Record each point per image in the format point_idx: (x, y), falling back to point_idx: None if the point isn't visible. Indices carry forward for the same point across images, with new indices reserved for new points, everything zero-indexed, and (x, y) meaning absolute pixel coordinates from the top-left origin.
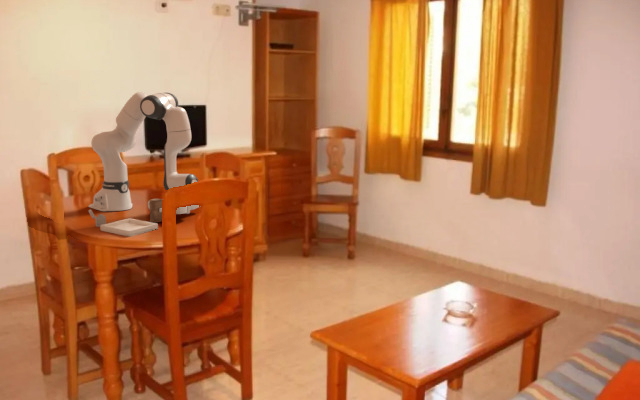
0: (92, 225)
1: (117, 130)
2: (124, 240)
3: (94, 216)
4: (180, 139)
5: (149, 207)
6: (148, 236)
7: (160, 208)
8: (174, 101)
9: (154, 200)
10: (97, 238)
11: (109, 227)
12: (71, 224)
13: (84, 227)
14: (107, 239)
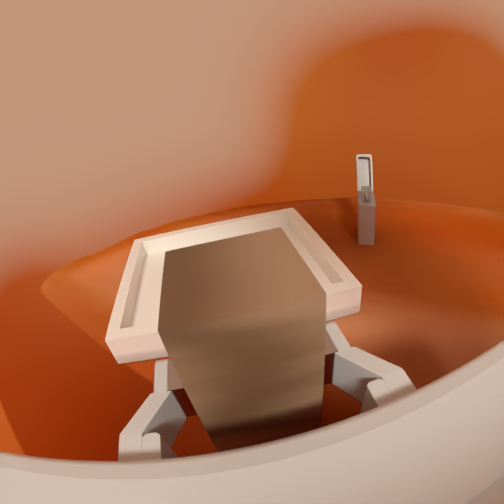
0: (387, 224)
1: None
2: (126, 244)
3: (357, 184)
4: None
5: (328, 324)
6: (85, 292)
7: (156, 361)
8: None
9: (198, 249)
10: (209, 214)
11: (243, 218)
12: (422, 202)
13: None
14: (177, 224)
